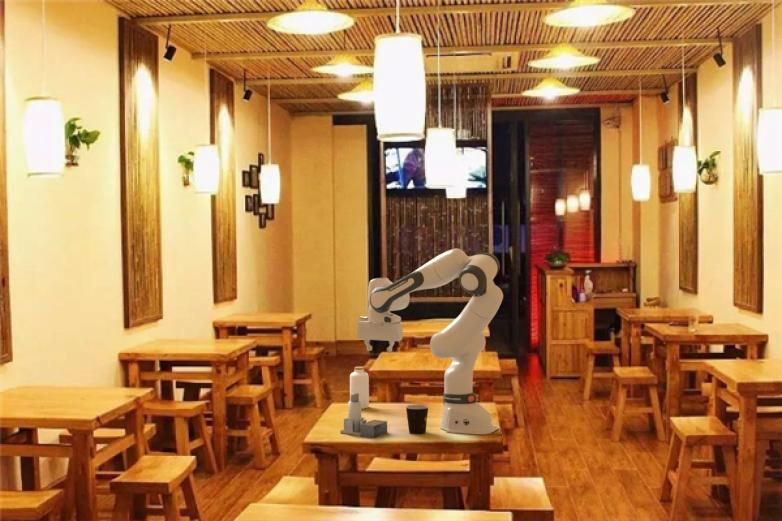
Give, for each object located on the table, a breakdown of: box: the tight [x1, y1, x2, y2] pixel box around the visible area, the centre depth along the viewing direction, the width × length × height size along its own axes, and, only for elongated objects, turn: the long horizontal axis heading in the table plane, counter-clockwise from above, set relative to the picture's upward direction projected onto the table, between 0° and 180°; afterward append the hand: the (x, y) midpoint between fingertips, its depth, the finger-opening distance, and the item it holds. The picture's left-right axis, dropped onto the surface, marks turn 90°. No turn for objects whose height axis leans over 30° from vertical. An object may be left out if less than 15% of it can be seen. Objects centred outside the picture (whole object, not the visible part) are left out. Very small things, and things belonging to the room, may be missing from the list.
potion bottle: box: [349, 366, 370, 410], centre depth 388 cm, size 8×8×18 cm
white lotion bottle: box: [347, 393, 362, 431], centre depth 341 cm, size 5×5×14 cm
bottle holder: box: [340, 416, 388, 439], centre depth 339 cm, size 16×10×5 cm, turn 60°
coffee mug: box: [405, 404, 429, 435], centre depth 338 cm, size 12×9×10 cm
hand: (379, 351), depth 358 cm, fingers open, 8 cm apart
